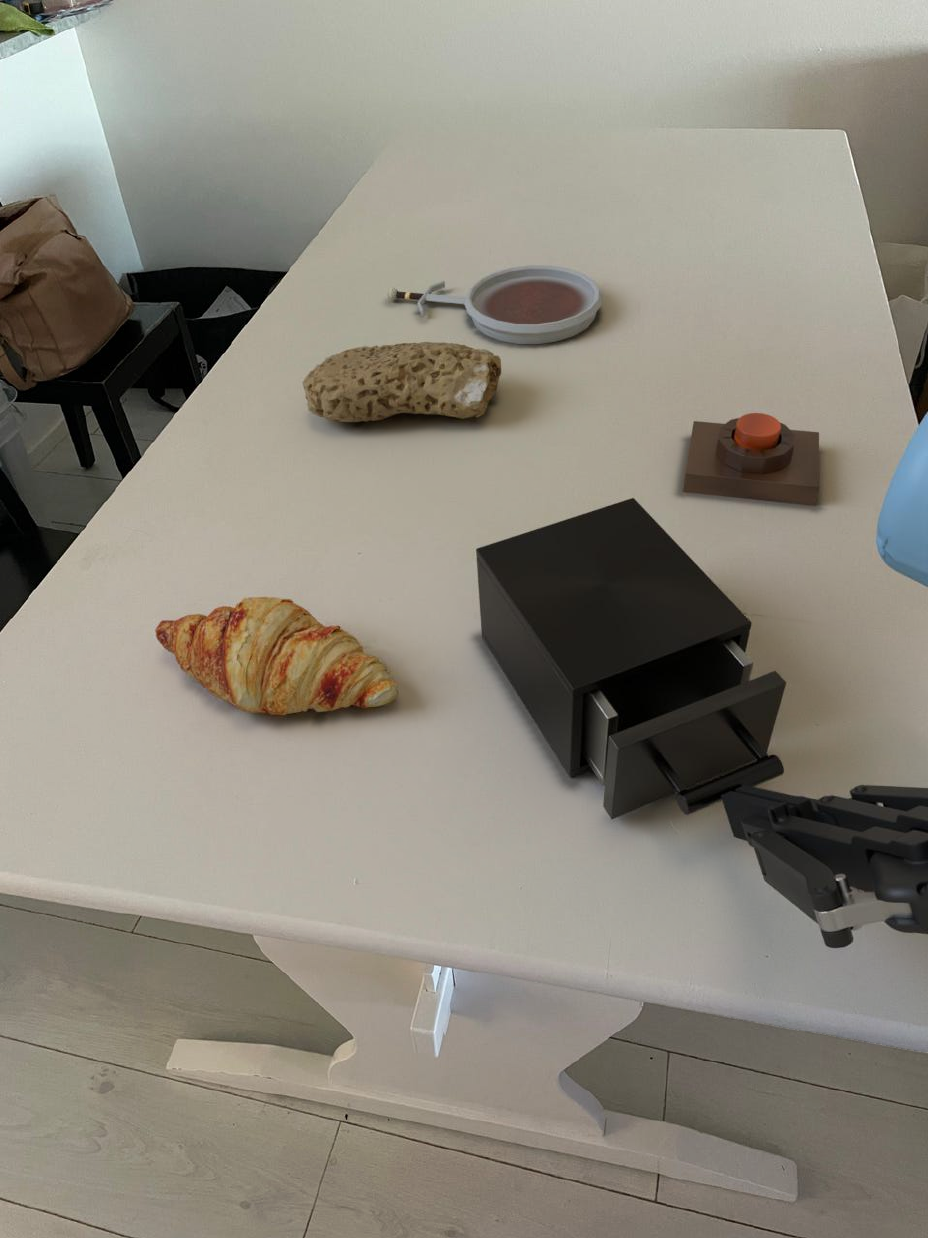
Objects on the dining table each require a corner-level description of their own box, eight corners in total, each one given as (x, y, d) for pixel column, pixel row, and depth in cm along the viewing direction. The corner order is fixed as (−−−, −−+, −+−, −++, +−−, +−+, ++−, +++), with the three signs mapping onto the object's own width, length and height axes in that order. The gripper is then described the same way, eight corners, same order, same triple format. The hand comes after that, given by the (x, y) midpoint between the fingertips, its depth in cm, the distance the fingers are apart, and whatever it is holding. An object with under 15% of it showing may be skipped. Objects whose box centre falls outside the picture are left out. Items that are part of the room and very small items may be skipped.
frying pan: (408, 254, 125) (615, 266, 117) (411, 275, 127) (614, 288, 119) (361, 313, 113) (586, 330, 106) (364, 335, 115) (585, 353, 108)
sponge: (500, 391, 105) (334, 346, 107) (509, 337, 99) (332, 290, 100) (469, 474, 98) (292, 425, 100) (477, 423, 92) (287, 370, 93)
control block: (814, 450, 92) (823, 416, 89) (814, 506, 86) (823, 470, 83) (691, 439, 94) (695, 405, 92) (682, 492, 88) (687, 457, 86)
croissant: (416, 707, 76) (426, 615, 73) (368, 757, 67) (377, 654, 64) (190, 653, 81) (192, 565, 79) (117, 692, 72) (116, 595, 69)
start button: (778, 430, 88) (781, 414, 87) (777, 454, 86) (780, 438, 84) (735, 426, 89) (737, 410, 88) (732, 449, 87) (735, 434, 85)
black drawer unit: (732, 713, 69) (752, 622, 62) (570, 778, 66) (573, 690, 59) (625, 586, 80) (633, 497, 73) (481, 637, 76) (475, 548, 70)
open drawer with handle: (804, 801, 62) (829, 728, 57) (644, 871, 59) (654, 802, 54) (657, 624, 75) (666, 551, 69) (518, 675, 72) (516, 603, 66)
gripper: (976, 1080, 33) (665, 910, 55) (1241, 929, 36) (845, 828, 59) (912, 880, 32) (626, 792, 55) (1185, 747, 36) (810, 716, 59)
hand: (739, 811), depth 57 cm, fingers closed
